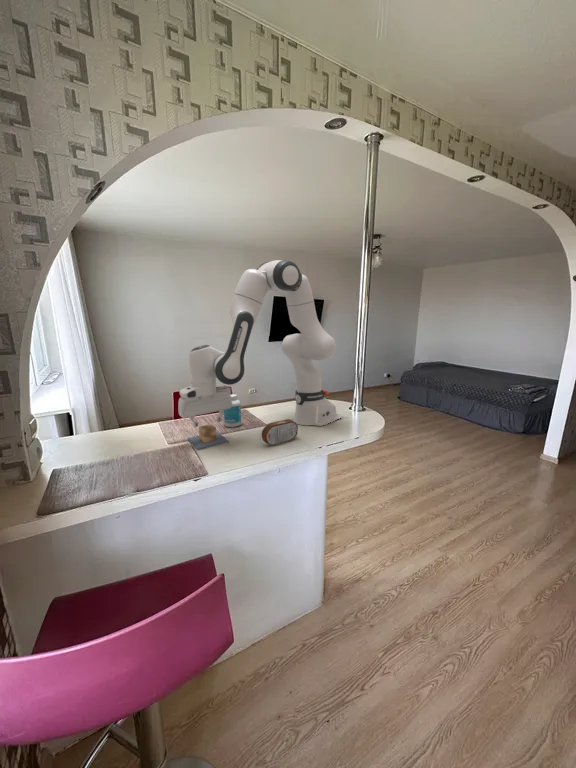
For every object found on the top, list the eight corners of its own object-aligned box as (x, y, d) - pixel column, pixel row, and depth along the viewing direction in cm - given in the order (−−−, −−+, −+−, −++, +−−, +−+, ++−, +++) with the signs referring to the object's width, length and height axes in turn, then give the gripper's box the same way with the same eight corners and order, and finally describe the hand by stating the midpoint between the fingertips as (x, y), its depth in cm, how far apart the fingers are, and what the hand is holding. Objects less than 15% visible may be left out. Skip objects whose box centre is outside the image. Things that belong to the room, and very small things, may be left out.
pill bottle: (243, 426, 144) (241, 396, 141) (226, 428, 141) (224, 398, 139) (239, 421, 151) (237, 392, 148) (223, 423, 148) (221, 394, 145)
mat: (216, 433, 136) (216, 431, 136) (228, 442, 126) (228, 440, 126) (187, 440, 129) (187, 438, 129) (198, 450, 120) (197, 447, 119)
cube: (212, 436, 131) (211, 424, 130) (216, 439, 127) (215, 427, 126) (199, 438, 128) (198, 426, 127) (204, 442, 124) (203, 430, 123)
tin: (294, 437, 130) (294, 416, 129) (299, 439, 128) (299, 418, 126) (261, 446, 122) (260, 424, 120) (265, 448, 119) (265, 426, 118)
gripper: (227, 383, 132) (229, 416, 135) (174, 391, 121) (179, 427, 124) (233, 386, 127) (236, 420, 130) (179, 395, 116) (183, 432, 119)
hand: (207, 423), depth 127 cm, fingers open, 8 cm apart
